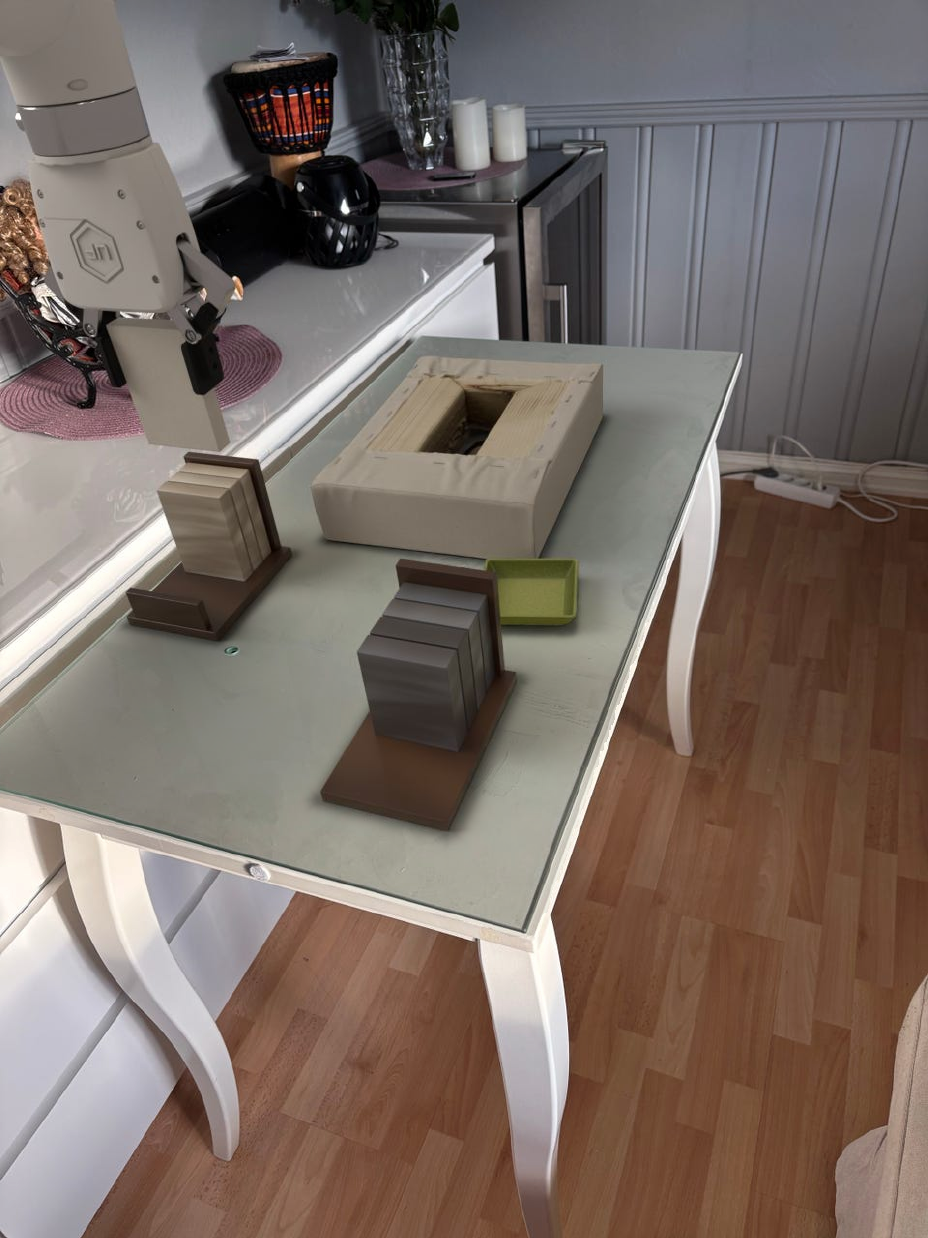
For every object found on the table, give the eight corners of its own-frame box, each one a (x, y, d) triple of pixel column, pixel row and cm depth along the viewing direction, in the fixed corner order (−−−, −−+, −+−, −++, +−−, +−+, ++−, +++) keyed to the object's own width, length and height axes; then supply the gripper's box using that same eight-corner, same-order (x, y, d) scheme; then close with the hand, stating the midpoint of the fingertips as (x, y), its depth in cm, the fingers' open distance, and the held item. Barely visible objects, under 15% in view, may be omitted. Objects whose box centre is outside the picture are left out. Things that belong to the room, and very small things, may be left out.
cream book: (220, 452, 72) (182, 329, 65) (148, 444, 74) (105, 324, 68) (230, 442, 73) (195, 320, 67) (159, 434, 75) (118, 316, 69)
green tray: (579, 575, 86) (579, 557, 84) (576, 635, 79) (576, 616, 78) (487, 576, 87) (485, 558, 86) (477, 634, 80) (475, 616, 79)
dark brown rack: (218, 641, 83) (184, 541, 76) (129, 624, 86) (88, 527, 79) (292, 555, 93) (267, 459, 86) (209, 542, 96) (180, 450, 89)
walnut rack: (447, 831, 64) (429, 721, 57) (322, 800, 67) (290, 692, 60) (517, 680, 75) (509, 573, 68) (407, 660, 78) (388, 556, 72)
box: (425, 406, 117) (320, 543, 94) (418, 348, 112) (306, 477, 89) (604, 419, 111) (539, 570, 87) (605, 358, 106) (537, 501, 82)
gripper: (-56, 143, 59) (48, 396, 70) (163, 138, 54) (238, 415, 65) (25, 117, 65) (109, 356, 76) (231, 110, 59) (289, 370, 70)
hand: (168, 381), depth 70 cm, fingers closed on cream book, 7 cm apart
